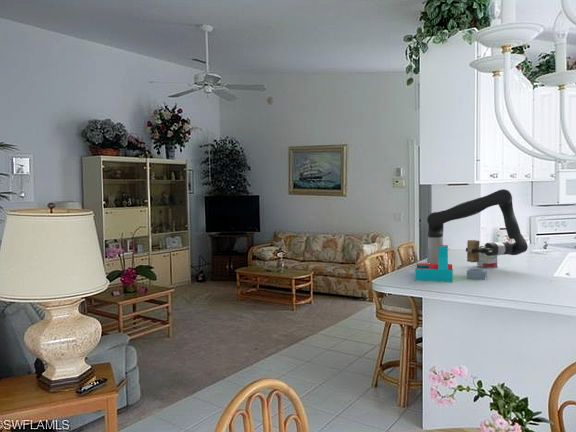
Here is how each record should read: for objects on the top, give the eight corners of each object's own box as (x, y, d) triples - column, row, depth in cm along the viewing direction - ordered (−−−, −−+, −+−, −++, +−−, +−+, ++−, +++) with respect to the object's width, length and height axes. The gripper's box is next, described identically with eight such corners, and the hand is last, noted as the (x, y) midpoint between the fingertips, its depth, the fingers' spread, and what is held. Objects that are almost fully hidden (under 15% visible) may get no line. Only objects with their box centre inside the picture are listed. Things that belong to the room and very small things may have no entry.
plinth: (466, 278, 255) (466, 271, 255) (469, 275, 263) (469, 268, 262) (484, 279, 251) (484, 272, 250) (486, 276, 258) (486, 269, 258)
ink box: (497, 267, 289) (498, 247, 288) (487, 268, 286) (487, 248, 285) (487, 265, 297) (487, 246, 296) (476, 266, 294) (476, 247, 293)
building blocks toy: (451, 274, 270) (451, 242, 269) (452, 282, 247) (452, 247, 245) (417, 272, 276) (417, 241, 275) (415, 281, 252) (415, 247, 251)
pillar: (472, 262, 266) (472, 241, 265) (467, 261, 270) (467, 240, 269) (479, 262, 267) (479, 240, 266) (473, 260, 271) (474, 240, 270)
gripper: (486, 241, 278) (461, 242, 274) (503, 244, 265) (477, 245, 260) (485, 253, 279) (461, 255, 274) (503, 257, 265) (477, 258, 261)
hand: (469, 250), depth 267 cm, fingers closed on pillar, 4 cm apart
